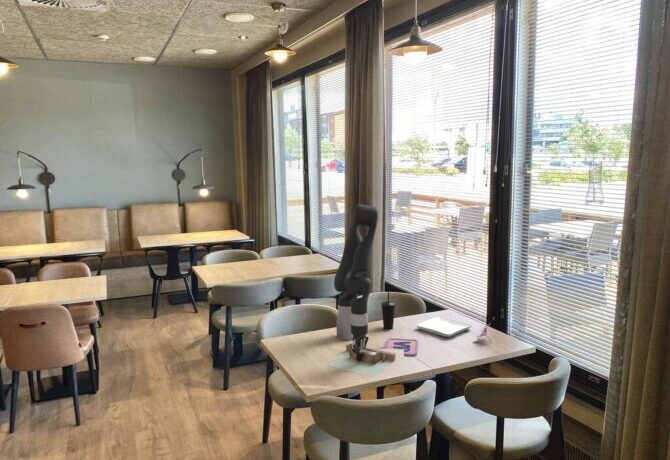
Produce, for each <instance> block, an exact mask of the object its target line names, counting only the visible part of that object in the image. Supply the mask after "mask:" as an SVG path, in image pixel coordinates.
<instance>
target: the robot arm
mask: <svg viewBox="0 0 670 460" xmlns="http://www.w3.org/2000/svg"><path fill="white" fill-rule="evenodd" d="M379 214H380V213H379V209H378V207H377V206H373V205H368V204H362V203H361V204H360V203H358V204H356V205H355V207H354V209H353V211H352V216H351V221H350V227H349V231H348V235H347V238H346V241H345V244H344V249H343V252H342V256H341V259H340V262H339V266H338V268H337V270H336V273H335V276H334V280H333V282H334V283H333V287H334V289H335V291H337V292H339V293H344V292H346V293H344V294H343V295H341V296H339V297H338V299H337V318H336V338H338V339H339V340H342V341H352V343H349V344H350V348H351V349H352V351H353V353H356V361H358V362H361V361H362V353H363V350H365V348H367V345H368V342H369V337H368V336H367V334H368V333H369V316H368V315H369V314H368V302H369V296H370V293H371V289H372V280H371V279H370V278H368V277H361V276H359V275H360V274H361V275H362V274H365V273H368V272H369V270H370V263H371V255H372V249H373V244H374V240H375V235H376V231H377V227H378V220H379ZM359 226H362V227H363V226H364V227H368V231H367V233H366V234H365V236H364V238H363V237H362V235H361V233H360V231H359ZM358 295H361V296H360V297H358Z"/></svg>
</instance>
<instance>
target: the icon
mask: <svg viewBox="0 0 670 460" xmlns="http://www.w3.org/2000/svg"><path fill="white" fill-rule="evenodd" d="M374 349H376V350H403V356H404V357H417V356H418V349H419V340H418V339H415V338H414V339H413V338H399V337H397V338H396V337H390V338H387V340H386V344H385V346H381V347H376V348H374Z"/></svg>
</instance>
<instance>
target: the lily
mask: <svg viewBox="0 0 670 460" xmlns="http://www.w3.org/2000/svg"><path fill="white" fill-rule="evenodd" d="M491 323H492V322H490V323H489V324H487V325H486V326H485V327H484V328H483V330H481V329H479V332H481V333H480V335H477V338H478V339H479V338H480V337H487V338H488V339H489V341H490V342H492V341H491V339H490V337H489V335H488V328H489V327H490V325H491Z"/></svg>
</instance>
